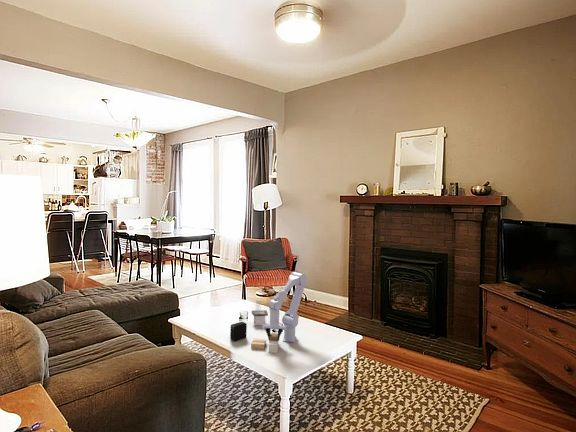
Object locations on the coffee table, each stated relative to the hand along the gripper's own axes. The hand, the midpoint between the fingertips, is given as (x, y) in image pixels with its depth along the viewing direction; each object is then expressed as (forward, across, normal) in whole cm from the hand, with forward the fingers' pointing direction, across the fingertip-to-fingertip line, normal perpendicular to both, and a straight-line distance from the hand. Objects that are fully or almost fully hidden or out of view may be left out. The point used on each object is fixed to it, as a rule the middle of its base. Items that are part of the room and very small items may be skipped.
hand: (273, 340), depth 228 cm
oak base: (+3, -9, -3) cm, 10 cm away
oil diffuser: (+4, -16, +37) cm, 40 cm away
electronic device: (+3, -24, +6) cm, 25 cm away
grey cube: (+3, +1, -8) cm, 9 cm away
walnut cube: (+2, 0, 0) cm, 2 cm away
